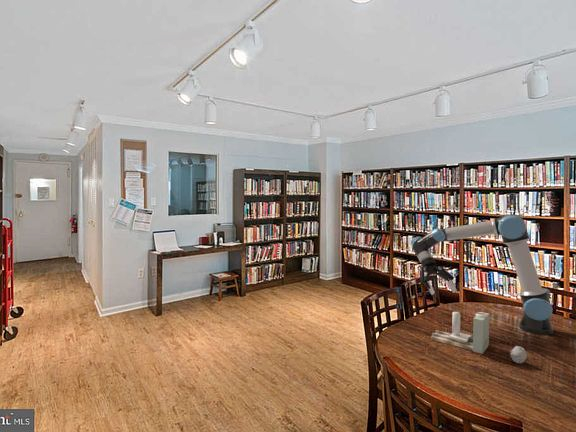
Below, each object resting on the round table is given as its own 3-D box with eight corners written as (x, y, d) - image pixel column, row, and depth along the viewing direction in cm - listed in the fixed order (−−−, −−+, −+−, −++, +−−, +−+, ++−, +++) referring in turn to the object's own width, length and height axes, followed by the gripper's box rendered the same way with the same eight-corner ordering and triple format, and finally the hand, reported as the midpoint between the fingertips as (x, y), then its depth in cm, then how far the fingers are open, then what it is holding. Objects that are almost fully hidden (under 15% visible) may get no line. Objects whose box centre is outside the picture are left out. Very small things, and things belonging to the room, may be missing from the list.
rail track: (479, 343, 171) (479, 339, 171) (473, 350, 164) (473, 345, 164) (437, 333, 185) (437, 328, 185) (430, 339, 178) (430, 334, 177)
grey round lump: (529, 363, 151) (530, 347, 151) (522, 367, 147) (522, 351, 147) (514, 357, 156) (515, 342, 156) (506, 362, 153) (507, 346, 152)
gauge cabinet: (489, 345, 169) (490, 311, 168) (483, 354, 160) (484, 318, 159) (478, 342, 172) (479, 309, 171) (471, 351, 164) (472, 315, 163)
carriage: (478, 339, 171) (478, 314, 170) (473, 344, 165) (473, 319, 164) (454, 333, 178) (454, 310, 177) (449, 338, 172) (449, 314, 172)
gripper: (442, 262, 206) (460, 293, 193) (405, 265, 201) (421, 298, 187) (448, 255, 201) (467, 286, 187) (410, 258, 195) (427, 291, 181)
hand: (444, 292), depth 187 cm, fingers open, 13 cm apart
